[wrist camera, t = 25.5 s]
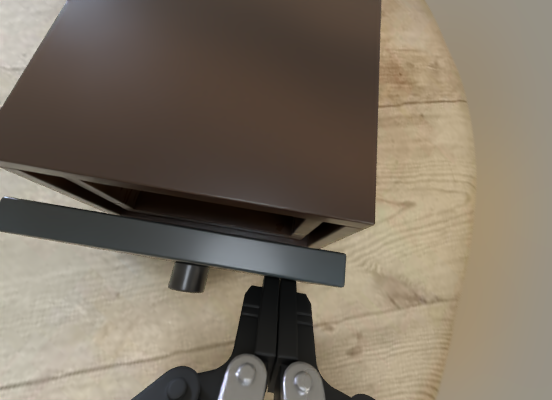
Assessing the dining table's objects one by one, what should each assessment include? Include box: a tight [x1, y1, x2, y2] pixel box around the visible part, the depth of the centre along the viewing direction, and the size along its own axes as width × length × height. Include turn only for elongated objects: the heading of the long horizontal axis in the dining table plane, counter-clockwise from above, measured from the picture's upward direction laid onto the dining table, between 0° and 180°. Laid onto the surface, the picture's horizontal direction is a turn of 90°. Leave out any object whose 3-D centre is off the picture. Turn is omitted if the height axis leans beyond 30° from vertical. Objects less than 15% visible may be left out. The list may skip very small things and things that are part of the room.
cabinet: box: [0, 0, 381, 249], centre depth 15 cm, size 16×14×9 cm
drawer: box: [0, 177, 346, 293], centre depth 14 cm, size 16×12×7 cm
